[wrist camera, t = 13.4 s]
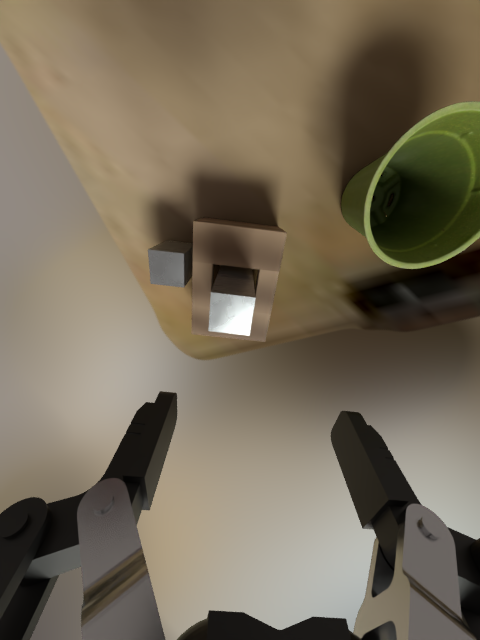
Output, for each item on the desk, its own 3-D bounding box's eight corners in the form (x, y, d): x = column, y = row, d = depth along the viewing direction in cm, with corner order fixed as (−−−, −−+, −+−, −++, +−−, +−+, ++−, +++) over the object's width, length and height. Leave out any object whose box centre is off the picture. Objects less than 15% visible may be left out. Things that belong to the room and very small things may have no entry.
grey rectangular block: (167, 240, 31) (148, 249, 25) (195, 243, 31) (183, 253, 25) (168, 268, 33) (150, 283, 26) (195, 271, 33) (184, 287, 27)
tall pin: (223, 257, 32) (210, 292, 19) (251, 260, 32) (255, 297, 20) (221, 283, 34) (208, 331, 21) (247, 287, 34) (249, 335, 21)
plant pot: (334, 261, 32) (375, 288, 22) (311, 172, 27) (351, 154, 17) (423, 224, 29) (515, 235, 19) (416, 117, 24) (534, 60, 14)
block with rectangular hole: (203, 217, 29) (193, 221, 23) (278, 226, 30) (287, 232, 24) (200, 311, 36) (191, 334, 30) (261, 318, 36) (265, 341, 30)
